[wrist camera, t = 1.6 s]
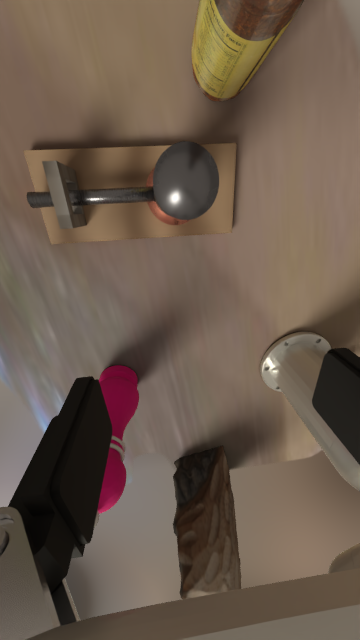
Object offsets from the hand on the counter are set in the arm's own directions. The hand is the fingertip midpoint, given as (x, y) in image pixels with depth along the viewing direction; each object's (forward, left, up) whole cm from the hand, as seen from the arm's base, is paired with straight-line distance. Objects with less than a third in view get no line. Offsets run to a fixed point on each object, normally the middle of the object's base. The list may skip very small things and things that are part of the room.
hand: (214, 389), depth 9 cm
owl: (-4, +46, -24) cm, 51 cm away
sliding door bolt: (+5, -8, -22) cm, 24 cm away
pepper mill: (+11, +19, -24) cm, 32 cm away
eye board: (+4, -8, -23) cm, 25 cm away
